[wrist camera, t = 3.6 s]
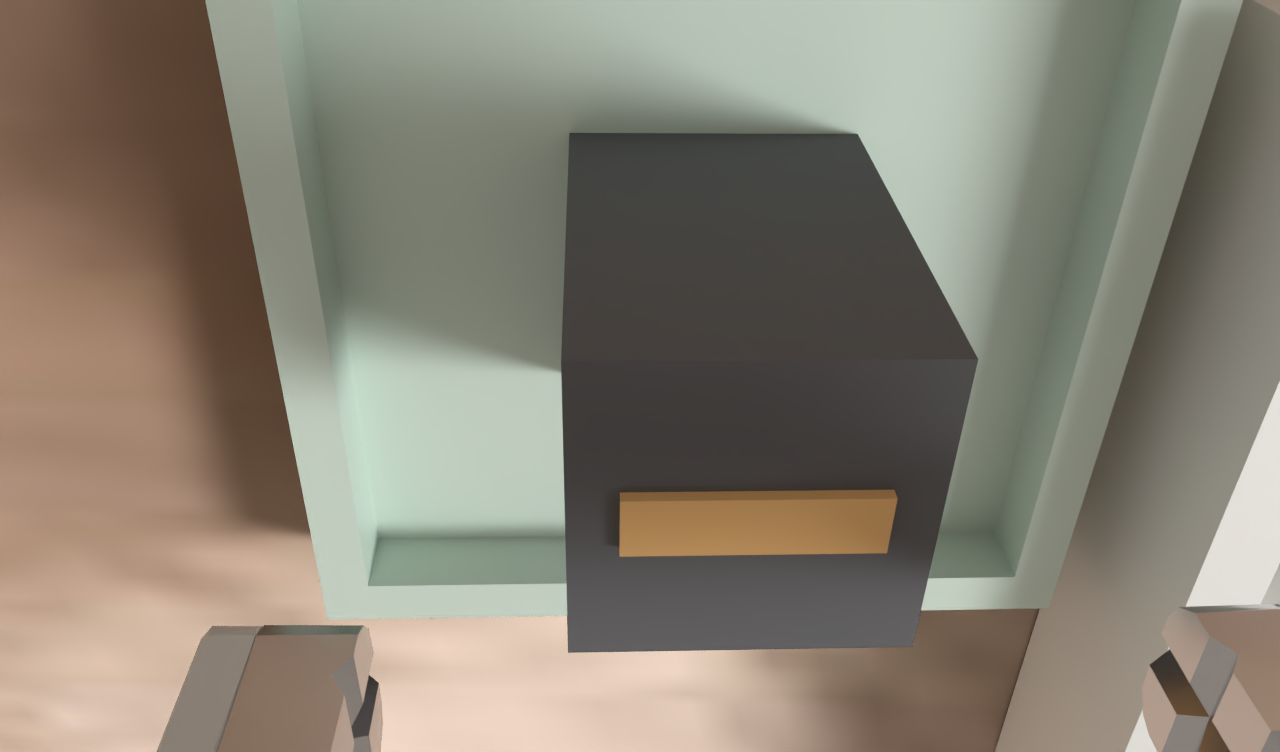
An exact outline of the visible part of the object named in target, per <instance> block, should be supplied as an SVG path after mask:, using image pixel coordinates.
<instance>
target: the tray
mask: <svg viewBox="0 0 1280 752" xmlns="http://www.w3.org/2000/svg"><path fill="white" fill-rule="evenodd" d="M205 1H206V7H207V12H208V17H209V22H210V27H211V32H212V37H213V42H214V47H215V52H216V57H217V62H218V67H219V72H220V77H221V82H222V88H223V93H224V98H225V103H226V108H227V113H228V118H229V123H230V128H231V133H232V138H233V143H234V148H235V153H236V158H237V163H238V168H239V174H240V179H241V184H242V189H243V194H244V199H245V204H246V209H247V214H248V219H249V224H250V229H251V234H252V239H253V244H254V249H255V255H256V260H257V265H258V270H259V275H260V280H261V285H262V290H263V295H264V300H265V305H266V310H267V315H268V320H269V325H270V330H271V336H272V341H273V346H274V351H275V356H276V361H277V366H278V371H279V376H280V381H281V386H282V391H283V396H284V401H285V406H286V411H287V417H288V422H289V427H290V432H291V437H292V442H293V447H294V452H295V457H296V462H297V467H298V472H299V477H300V482H301V487H302V492H303V497H304V503H305V508H306V513H307V518H308V523H309V528H310V533H311V538H312V543H313V548H314V553H315V558H316V563H317V568H318V573H319V578H320V584H321V589H322V594H323V599H324V604H325V609H326V614H327V619H390V618H456V617H521V616H567V584H566V543H565V502H564V462H563V421H562V380H561V348H562V321H563V293H564V266H565V239H566V211H567V184H568V156H569V133H730V134H858V135H859V137H860V139H861V141H862V143H863V145H864V147H865V149H866V150H867V152H868V154H869V156H870V158H871V160H872V162H873V163H874V165H875V167H876V169H877V171H878V173H879V175H880V177H881V178H882V180H883V182H884V184H885V186H886V188H887V190H888V191H889V193H890V195H891V197H892V199H893V201H894V203H895V205H896V206H897V208H898V210H899V212H900V214H901V216H902V218H903V219H904V221H905V223H906V225H907V227H908V229H909V231H910V233H911V234H912V236H913V238H914V240H915V242H916V244H917V246H918V247H919V249H920V251H921V253H922V255H923V257H924V259H925V261H926V262H927V264H928V266H929V268H930V270H931V272H932V274H933V275H934V277H935V279H936V281H937V283H938V285H939V287H940V289H941V290H942V292H943V294H944V296H945V298H946V300H947V302H948V303H949V305H950V307H951V309H952V311H953V313H954V315H955V317H956V318H957V320H958V322H959V324H960V326H961V328H962V330H963V331H964V333H965V335H966V337H967V339H968V341H969V343H970V345H971V346H972V348H973V350H974V352H975V354H976V356H977V358H978V363H977V367H976V372H975V376H974V380H973V385H972V389H971V393H970V398H969V402H968V407H967V411H966V415H965V420H964V424H963V428H962V433H961V437H960V442H959V446H958V450H957V455H956V459H955V463H954V468H953V472H952V477H951V481H950V485H949V490H948V494H947V498H946V503H945V507H944V511H943V516H942V520H941V525H940V529H939V533H938V538H937V542H936V546H935V551H934V555H933V560H932V564H931V568H930V573H929V577H928V581H927V586H926V590H925V594H924V599H923V603H922V608H921V610H980V609H1046V608H1049V606H1050V603H1051V600H1052V596H1053V593H1054V590H1055V587H1056V584H1057V581H1058V578H1059V575H1060V571H1061V568H1062V565H1063V562H1064V559H1065V556H1066V553H1067V550H1068V546H1069V543H1070V540H1071V537H1072V534H1073V531H1074V528H1075V525H1076V521H1077V518H1078V515H1079V512H1080V509H1081V506H1082V503H1083V500H1084V496H1085V493H1086V490H1087V487H1088V484H1089V481H1090V478H1091V475H1092V471H1093V468H1094V465H1095V462H1096V459H1097V456H1098V453H1099V450H1100V446H1101V443H1102V440H1103V437H1104V434H1105V431H1106V428H1107V425H1108V421H1109V418H1110V415H1111V412H1112V409H1113V406H1114V403H1115V400H1116V396H1117V393H1118V390H1119V387H1120V384H1121V381H1122V378H1123V375H1124V371H1125V368H1126V365H1127V362H1128V359H1129V356H1130V353H1131V350H1132V346H1133V343H1134V340H1135V337H1136V334H1137V331H1138V328H1139V325H1140V321H1141V318H1142V315H1143V312H1144V309H1145V306H1146V303H1147V300H1148V296H1149V293H1150V290H1151V287H1152V284H1153V281H1154V278H1155V275H1156V271H1157V268H1158V265H1159V262H1160V259H1161V256H1162V253H1163V250H1164V246H1165V243H1166V240H1167V237H1168V234H1169V231H1170V228H1171V225H1172V221H1173V218H1174V215H1175V212H1176V209H1177V206H1178V203H1179V200H1180V196H1181V193H1182V190H1183V187H1184V184H1185V181H1186V178H1187V175H1188V171H1189V168H1190V165H1191V162H1192V159H1193V156H1194V153H1195V150H1196V146H1197V143H1198V140H1199V137H1200V134H1201V131H1202V128H1203V125H1204V121H1205V118H1206V115H1207V112H1208V109H1209V106H1210V103H1211V100H1212V96H1213V93H1214V90H1215V87H1216V84H1217V81H1218V78H1219V75H1220V71H1221V68H1222V65H1223V62H1224V59H1225V56H1226V53H1227V50H1228V46H1229V43H1230V40H1231V37H1232V34H1233V31H1234V28H1235V25H1236V21H1237V18H1238V15H1239V12H1240V9H1241V6H1242V3H1243V0H205Z"/></svg>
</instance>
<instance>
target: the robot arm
mask: <svg viewBox="0 0 1280 752" xmlns="http://www.w3.org/2000/svg"><path fill="white" fill-rule="evenodd" d="M1161 635H1162V637H1163V638H1164V640H1165V642H1166V643H1167V645H1168V647H1169V650H1168V651H1167V652H1165V653H1164V654H1163V655H1162V656H1160V657H1159V658H1158V659H1156V660H1155V661H1154V662H1153V663H1151V664H1150V665H1149V668H1148V671H1147V674H1146V677H1145V680H1144V683H1143V687H1142V703H1143V716H1144V720H1145V723H1146V727H1147V730H1148V734H1149V736H1150V738H1151V740H1152V742H1153V744H1154V746H1155V748H1156V750H1157V752H1280V604H1275V605H1270V604H1253V605H1222V606H1191V607H1178V608H1177V609H1176V610H1175V611H1173V612H1172V613H1171V614H1170V615H1169V616H1168V618H1167V621H1166V623H1165V626H1164V628H1163V631H1162V633H1161ZM372 657H373V647H372V642H371V638H370V633H369V628H367V627H365V626H328V625H264V626H212V627H211V628H210V630H209V631H208V632H207V633H206V634H205V635H204V636H203V638H202V639H201V641H200V643H199V646H198V648H197V651H196V653H195V656H194V659H193V661H192V664H191V666H190V669H189V671H188V674H187V676H186V679H185V681H184V684H183V686H182V689H181V691H180V694H179V696H178V699H177V701H176V704H175V706H174V709H173V711H172V714H171V717H170V719H169V722H168V724H167V727H166V729H165V732H164V734H163V737H162V739H161V742H160V744H159V747H158V749H157V752H381V740H382V725H383V720H382V701H381V694H380V688H379V683H378V682H377V681H375V680H374V679H373V678H372V677H371V676H369V672H370V667H371V662H372Z"/></svg>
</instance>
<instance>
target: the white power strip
mask: <svg viewBox="0 0 1280 752" xmlns="http://www.w3.org/2000/svg"><path fill="white" fill-rule="evenodd" d="M1253 604H1270V605H1275V604H1280V0H1243V3H1242V6H1241V9H1240V12H1239V15H1238V18H1237V21H1236V25H1235V28H1234V31H1233V34H1232V37H1231V40H1230V43H1229V46H1228V50H1227V53H1226V56H1225V59H1224V62H1223V65H1222V68H1221V71H1220V75H1219V78H1218V81H1217V84H1216V87H1215V90H1214V93H1213V96H1212V100H1211V103H1210V106H1209V109H1208V112H1207V115H1206V118H1205V121H1204V125H1203V128H1202V131H1201V134H1200V137H1199V140H1198V143H1197V146H1196V150H1195V153H1194V156H1193V159H1192V162H1191V165H1190V168H1189V171H1188V175H1187V178H1186V181H1185V184H1184V187H1183V190H1182V193H1181V196H1180V200H1179V203H1178V206H1177V209H1176V212H1175V215H1174V218H1173V221H1172V225H1171V228H1170V231H1169V234H1168V237H1167V240H1166V243H1165V246H1164V250H1163V253H1162V256H1161V259H1160V262H1159V265H1158V268H1157V271H1156V275H1155V278H1154V281H1153V284H1152V287H1151V290H1150V293H1149V296H1148V300H1147V303H1146V306H1145V309H1144V312H1143V315H1142V318H1141V321H1140V325H1139V328H1138V331H1137V334H1136V337H1135V340H1134V343H1133V346H1132V350H1131V353H1130V356H1129V359H1128V362H1127V365H1126V368H1125V371H1124V375H1123V378H1122V381H1121V384H1120V387H1119V390H1118V393H1117V396H1116V400H1115V403H1114V406H1113V409H1112V412H1111V415H1110V418H1109V421H1108V425H1107V428H1106V431H1105V434H1104V437H1103V440H1102V443H1101V446H1100V450H1099V453H1098V456H1097V459H1096V462H1095V465H1094V468H1093V471H1092V475H1091V478H1090V481H1089V484H1088V487H1087V490H1086V493H1085V496H1084V500H1083V503H1082V506H1081V509H1080V512H1079V515H1078V518H1077V521H1076V525H1075V528H1074V531H1073V534H1072V537H1071V540H1070V543H1069V546H1068V550H1067V553H1066V556H1065V559H1064V562H1063V565H1062V568H1061V571H1060V575H1059V578H1058V581H1057V584H1056V587H1055V590H1054V593H1053V596H1052V600H1051V603H1050V606H1049V608H1046V609H1039V613H1038V616H1037V619H1036V622H1035V625H1034V629H1033V632H1032V635H1031V638H1030V641H1029V644H1028V648H1027V651H1026V654H1025V657H1024V660H1023V664H1022V667H1021V670H1020V673H1019V676H1018V680H1017V683H1016V686H1015V689H1014V692H1013V695H1012V699H1011V702H1010V705H1009V708H1008V711H1007V715H1006V718H1005V721H1004V724H1003V727H1002V731H1001V734H1000V737H999V740H998V743H997V746H996V750H995V752H1157V750H1156V748H1155V746H1154V744H1153V742H1152V740H1151V738H1150V736H1149V734H1148V730H1147V727H1146V723H1145V720H1144V716H1143V703H1142V687H1143V683H1144V680H1145V677H1146V674H1147V671H1148V668H1149V665H1150V664H1151V663H1153V662H1154V661H1155V660H1156V659H1158V658H1159V657H1160V656H1162V655H1163V654H1164V653H1165V652H1167V651H1168V650H1169V647H1168V645H1167V643H1166V642H1165V640H1164V638H1163V637H1162V635H1161V633H1162V631H1163V628H1164V626H1165V623H1166V621H1167V618H1168V616H1169V615H1170V614H1171V613H1172V612H1173V611H1175V610H1176V609H1177V608H1178V607H1191V606H1222V605H1253Z"/></svg>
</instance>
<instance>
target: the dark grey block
mask: <svg viewBox="0 0 1280 752" xmlns="http://www.w3.org/2000/svg"><path fill="white" fill-rule="evenodd" d="M977 363H978V358H977V356H976V354H975V352H974V350H973V348H972V346H971V345H970V343H969V341H968V339H967V337H966V335H965V333H964V331H963V330H962V328H961V326H960V324H959V322H958V320H957V318H956V317H955V315H954V313H953V311H952V309H951V307H950V305H949V303H948V302H947V300H946V298H945V296H944V294H943V292H942V290H941V289H940V287H939V285H938V283H937V281H936V279H935V277H934V275H933V274H932V272H931V270H930V268H929V266H928V264H927V262H926V261H925V259H924V257H923V255H922V253H921V251H920V249H919V247H918V246H917V244H916V242H915V240H914V238H913V236H912V234H911V233H910V231H909V229H908V227H907V225H906V223H905V221H904V219H903V218H902V216H901V214H900V212H899V210H898V208H897V206H896V205H895V203H894V201H893V199H892V197H891V195H890V193H889V191H888V190H887V188H886V186H885V184H884V182H883V180H882V178H881V177H880V175H879V173H878V171H877V169H876V167H875V165H874V163H873V162H872V160H871V158H870V156H869V154H868V152H867V150H866V149H865V147H864V145H863V143H862V141H861V139H860V137H859V135H858V134H730V133H569V156H568V184H567V211H566V239H565V266H564V293H563V321H562V348H561V380H562V421H563V462H564V502H565V543H566V584H567V624H568V653H570V652H630V651H690V650H750V649H810V648H870V647H913V643H914V638H915V634H916V629H917V625H918V621H919V616H920V612H921V608H922V603H923V599H924V594H925V590H926V586H927V581H928V577H929V573H930V568H931V564H932V560H933V555H934V551H935V546H936V542H937V538H938V533H939V529H940V525H941V520H942V516H943V511H944V507H945V503H946V498H947V494H948V490H949V485H950V481H951V477H952V472H953V468H954V463H955V459H956V455H957V450H958V446H959V442H960V437H961V433H962V428H963V424H964V420H965V415H966V411H967V407H968V402H969V398H970V393H971V389H972V385H973V380H974V376H975V372H976V367H977Z"/></svg>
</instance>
